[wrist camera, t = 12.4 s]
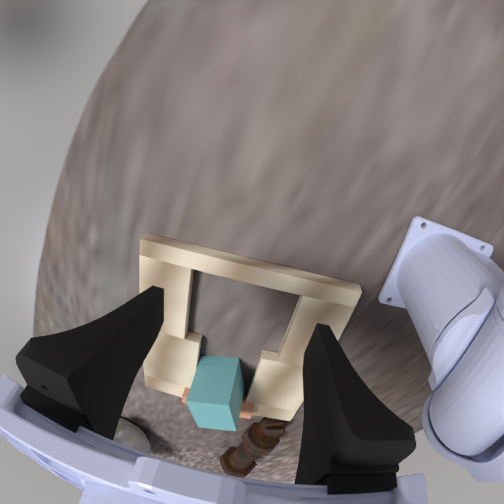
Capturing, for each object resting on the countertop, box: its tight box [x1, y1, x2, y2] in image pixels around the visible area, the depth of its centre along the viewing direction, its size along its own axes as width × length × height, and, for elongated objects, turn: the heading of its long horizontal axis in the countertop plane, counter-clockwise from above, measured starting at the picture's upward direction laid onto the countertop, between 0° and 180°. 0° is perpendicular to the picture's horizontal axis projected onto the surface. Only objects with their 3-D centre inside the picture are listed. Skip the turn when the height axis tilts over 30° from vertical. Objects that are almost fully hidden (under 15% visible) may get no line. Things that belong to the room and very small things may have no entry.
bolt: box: [219, 417, 285, 478], centre depth 34 cm, size 6×5×15 cm
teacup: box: [113, 418, 151, 454], centre depth 37 cm, size 14×11×8 cm
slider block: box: [186, 356, 244, 431], centre depth 27 cm, size 4×5×6 cm
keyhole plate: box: [140, 233, 362, 421], centre depth 27 cm, size 18×20×2 cm
